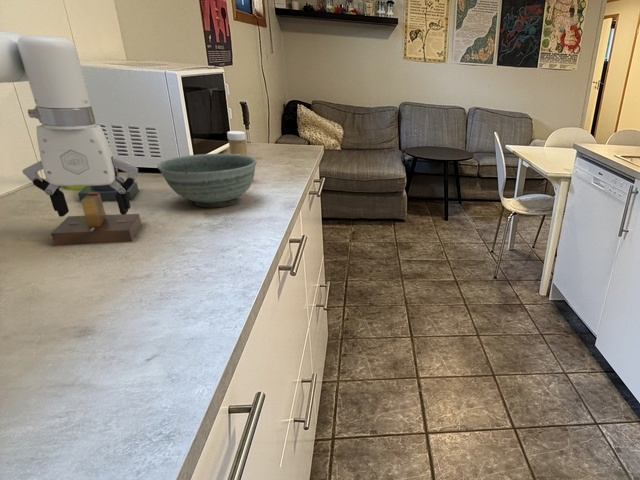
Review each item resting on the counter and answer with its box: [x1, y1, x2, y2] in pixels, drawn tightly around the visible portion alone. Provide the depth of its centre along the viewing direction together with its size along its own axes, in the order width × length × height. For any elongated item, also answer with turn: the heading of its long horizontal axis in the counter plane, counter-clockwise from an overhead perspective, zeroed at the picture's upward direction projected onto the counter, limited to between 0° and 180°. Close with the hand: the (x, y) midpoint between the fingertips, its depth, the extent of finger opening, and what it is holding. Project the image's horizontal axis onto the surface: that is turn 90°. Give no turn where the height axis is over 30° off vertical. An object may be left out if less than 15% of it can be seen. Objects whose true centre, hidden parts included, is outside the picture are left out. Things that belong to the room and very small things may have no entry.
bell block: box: [77, 176, 140, 202], centre depth 112 cm, size 10×9×4 cm
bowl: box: [157, 153, 257, 208], centre depth 112 cm, size 21×21×10 cm
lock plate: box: [50, 213, 143, 247], centre depth 91 cm, size 12×10×3 cm
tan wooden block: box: [80, 192, 107, 227], centre depth 89 cm, size 5×2×5 cm, turn 20°
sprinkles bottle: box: [226, 130, 248, 156], centre depth 129 cm, size 5×5×14 cm
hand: (95, 213), depth 89 cm, fingers open, 9 cm apart
